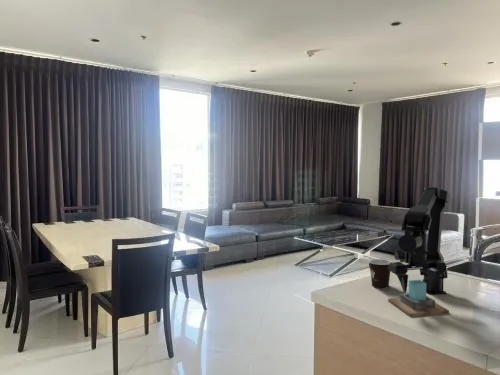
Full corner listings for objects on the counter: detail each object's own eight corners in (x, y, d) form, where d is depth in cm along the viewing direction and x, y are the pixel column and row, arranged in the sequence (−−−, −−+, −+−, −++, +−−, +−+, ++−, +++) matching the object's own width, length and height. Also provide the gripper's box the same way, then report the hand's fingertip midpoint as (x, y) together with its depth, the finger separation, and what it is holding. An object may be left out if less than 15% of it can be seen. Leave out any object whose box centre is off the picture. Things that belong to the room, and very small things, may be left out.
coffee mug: (393, 289, 149) (393, 265, 148) (370, 288, 150) (370, 264, 150) (388, 280, 160) (388, 257, 159) (367, 279, 162) (367, 257, 161)
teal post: (419, 301, 133) (419, 279, 132) (426, 306, 129) (426, 283, 128) (408, 302, 132) (408, 280, 132) (415, 306, 128) (415, 284, 128)
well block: (423, 298, 139) (423, 289, 138) (448, 313, 125) (449, 303, 125) (388, 301, 137) (388, 292, 136) (409, 316, 123) (409, 306, 123)
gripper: (427, 240, 139) (427, 282, 140) (380, 243, 136) (380, 285, 137) (448, 247, 128) (447, 292, 129) (396, 250, 125) (396, 296, 126)
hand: (417, 291), depth 130 cm, fingers open, 9 cm apart
